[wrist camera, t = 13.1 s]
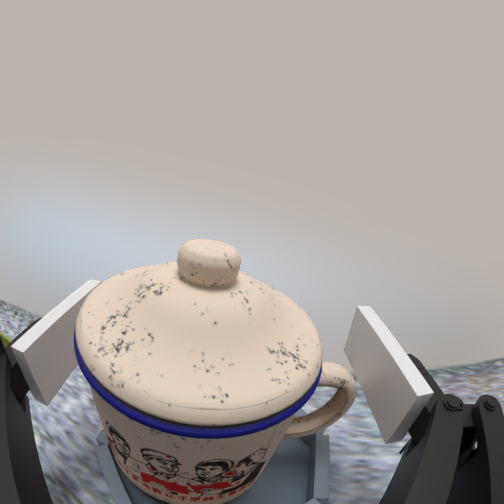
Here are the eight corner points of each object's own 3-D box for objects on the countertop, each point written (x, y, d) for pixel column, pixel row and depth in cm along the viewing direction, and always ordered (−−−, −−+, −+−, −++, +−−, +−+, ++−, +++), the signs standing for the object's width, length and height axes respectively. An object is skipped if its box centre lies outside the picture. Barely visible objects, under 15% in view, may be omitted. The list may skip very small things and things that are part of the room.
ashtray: (319, 412, 17) (327, 392, 17) (310, 565, 5) (324, 561, 5) (159, 380, 19) (156, 359, 18) (78, 500, 7) (61, 484, 7)
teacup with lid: (90, 486, 7) (-7, 275, 4) (131, 376, 16) (130, 202, 12) (328, 511, 8) (482, 346, 5) (302, 400, 17) (363, 245, 14)
